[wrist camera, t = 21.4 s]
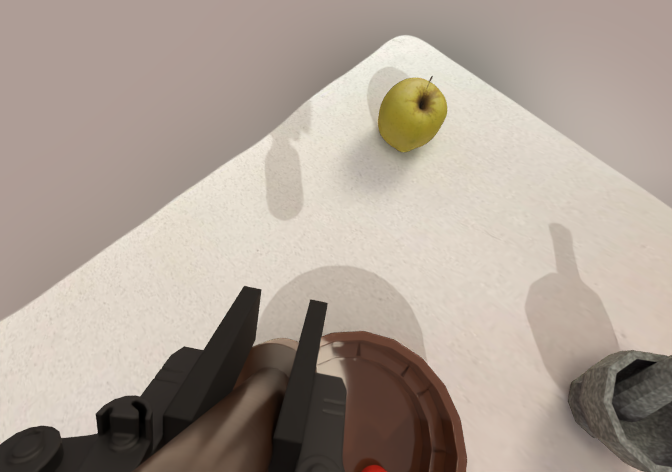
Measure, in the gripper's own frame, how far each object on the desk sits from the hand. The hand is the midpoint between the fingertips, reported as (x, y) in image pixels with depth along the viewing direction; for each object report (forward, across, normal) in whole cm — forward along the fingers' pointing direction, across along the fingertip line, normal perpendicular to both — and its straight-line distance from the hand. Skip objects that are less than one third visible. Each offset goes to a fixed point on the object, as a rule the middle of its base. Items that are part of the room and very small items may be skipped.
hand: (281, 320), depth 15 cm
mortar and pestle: (+16, +31, -14) cm, 38 cm away
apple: (+36, +8, +5) cm, 37 cm away
